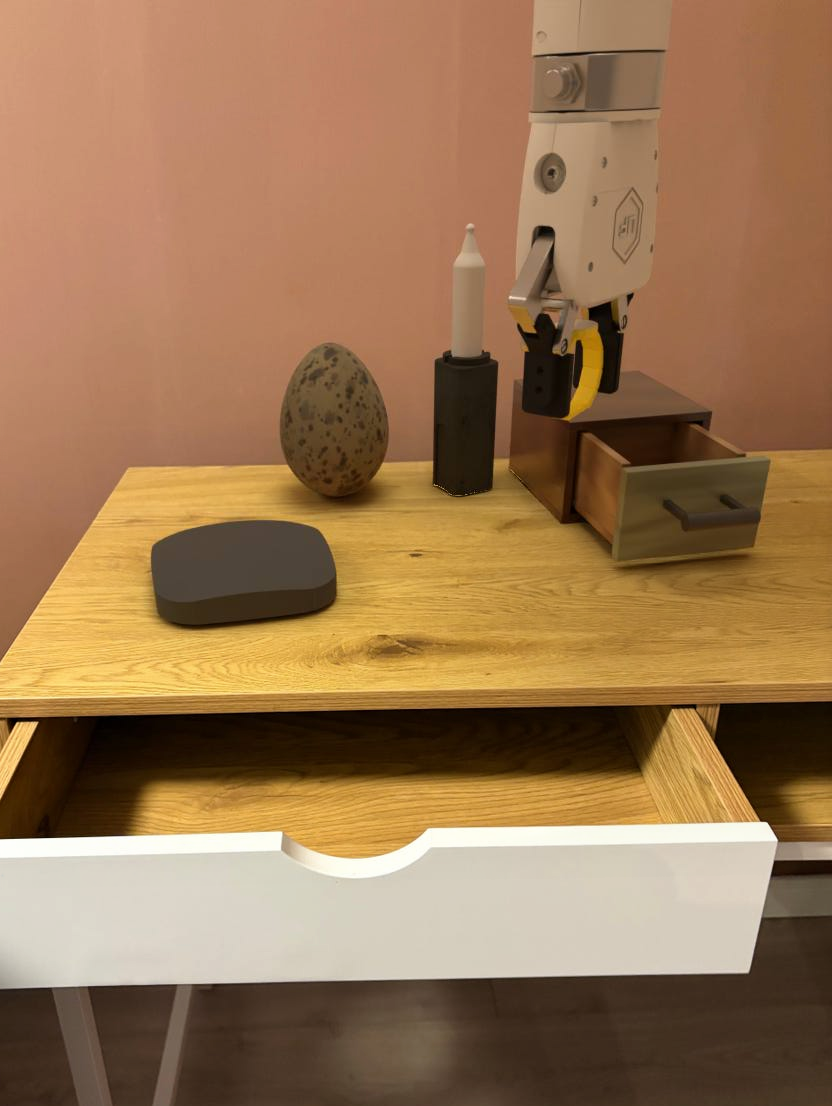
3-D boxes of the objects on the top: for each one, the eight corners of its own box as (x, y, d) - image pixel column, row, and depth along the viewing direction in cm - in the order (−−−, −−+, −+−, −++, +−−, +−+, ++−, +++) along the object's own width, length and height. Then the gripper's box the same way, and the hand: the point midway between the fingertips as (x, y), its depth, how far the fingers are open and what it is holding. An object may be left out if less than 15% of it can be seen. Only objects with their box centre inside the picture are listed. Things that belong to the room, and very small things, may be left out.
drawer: (786, 571, 79) (806, 479, 75) (642, 587, 77) (654, 493, 73) (675, 489, 95) (686, 411, 91) (554, 500, 93) (561, 420, 90)
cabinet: (697, 510, 93) (712, 411, 88) (561, 523, 91) (569, 422, 86) (628, 458, 106) (638, 370, 101) (508, 469, 104) (513, 379, 100)
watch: (572, 400, 68) (579, 312, 65) (609, 407, 66) (618, 316, 64) (529, 422, 64) (534, 329, 61) (566, 429, 62) (574, 334, 59)
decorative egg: (266, 488, 101) (255, 340, 94) (357, 469, 105) (354, 326, 98) (312, 521, 93) (304, 362, 85) (409, 499, 97) (409, 346, 90)
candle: (428, 483, 101) (431, 223, 89) (469, 474, 103) (478, 219, 91) (454, 498, 97) (462, 228, 85) (497, 489, 99) (510, 223, 87)
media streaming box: (156, 634, 74) (152, 599, 72) (153, 557, 86) (149, 526, 85) (346, 613, 76) (344, 578, 75) (315, 541, 89) (314, 510, 87)
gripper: (583, 94, 48) (557, 446, 57) (717, 87, 60) (678, 381, 68) (457, 98, 52) (450, 425, 61) (604, 91, 64) (581, 367, 73)
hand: (571, 399), depth 65 cm, fingers closed on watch, 6 cm apart
